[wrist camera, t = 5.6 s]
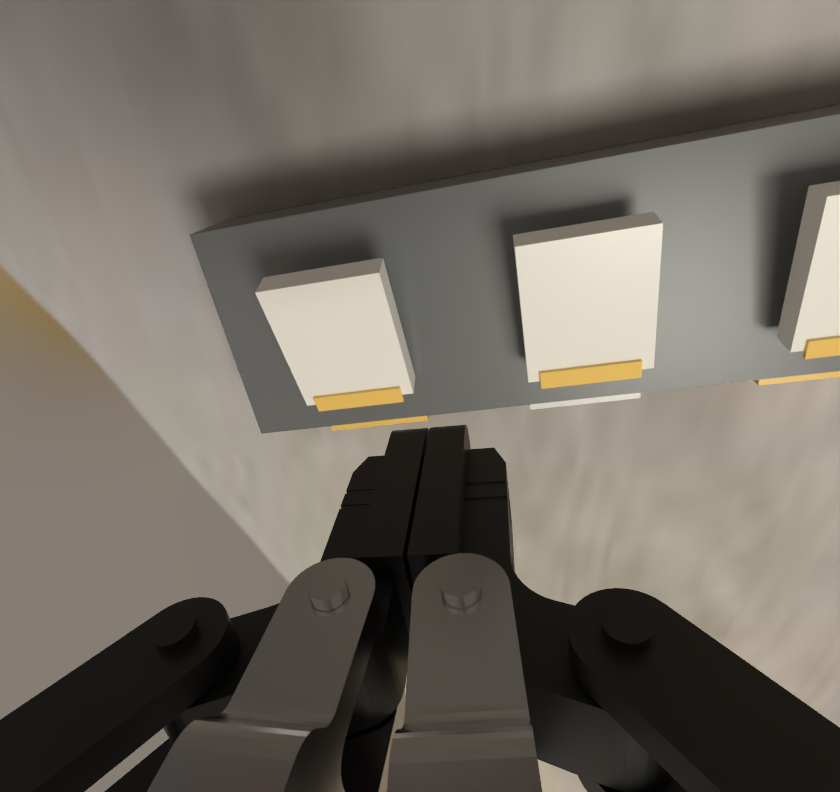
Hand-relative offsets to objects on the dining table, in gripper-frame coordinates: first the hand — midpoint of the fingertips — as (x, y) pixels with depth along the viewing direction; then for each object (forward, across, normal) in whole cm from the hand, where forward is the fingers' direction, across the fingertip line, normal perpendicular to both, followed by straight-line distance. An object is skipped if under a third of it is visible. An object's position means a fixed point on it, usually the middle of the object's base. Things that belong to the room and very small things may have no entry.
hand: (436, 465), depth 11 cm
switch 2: (+12, -5, +1) cm, 13 cm away
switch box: (+17, -5, +1) cm, 18 cm away
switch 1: (+12, +5, +1) cm, 13 cm away
